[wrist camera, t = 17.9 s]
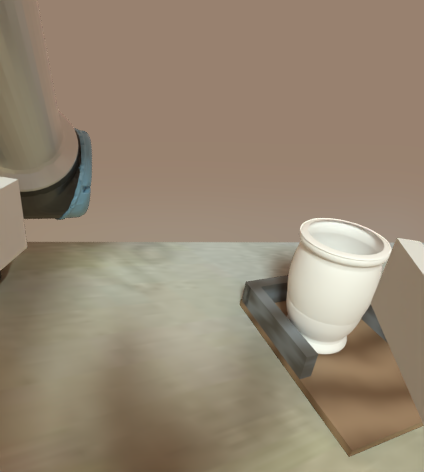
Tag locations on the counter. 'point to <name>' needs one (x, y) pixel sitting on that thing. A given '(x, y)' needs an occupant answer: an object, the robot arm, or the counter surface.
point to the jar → (333, 280)
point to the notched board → (338, 371)
